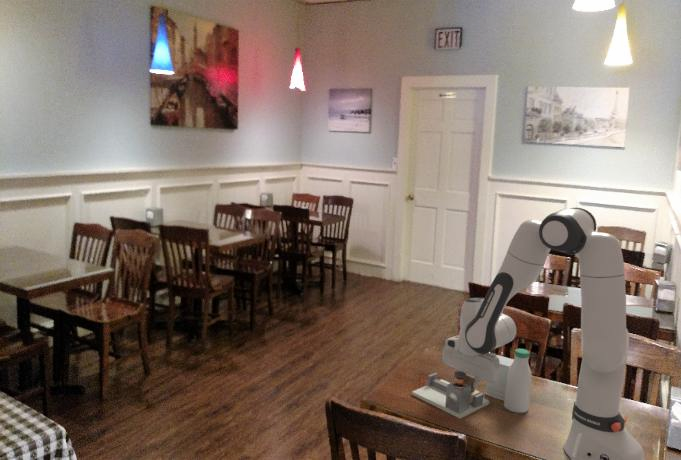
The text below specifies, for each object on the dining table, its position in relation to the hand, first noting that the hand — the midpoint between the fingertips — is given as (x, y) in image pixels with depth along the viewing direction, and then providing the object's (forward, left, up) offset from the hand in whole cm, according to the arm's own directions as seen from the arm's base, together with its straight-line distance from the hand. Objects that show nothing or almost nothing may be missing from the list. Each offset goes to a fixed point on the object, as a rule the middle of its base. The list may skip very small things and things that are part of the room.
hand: (468, 385), depth 184 cm
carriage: (0, 0, -5) cm, 5 cm away
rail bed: (+5, +2, -7) cm, 9 cm away
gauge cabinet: (-1, +7, -7) cm, 10 cm away
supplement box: (-3, -15, -7) cm, 17 cm away
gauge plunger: (-1, +7, -2) cm, 7 cm away
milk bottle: (-12, -11, -7) cm, 17 cm away
